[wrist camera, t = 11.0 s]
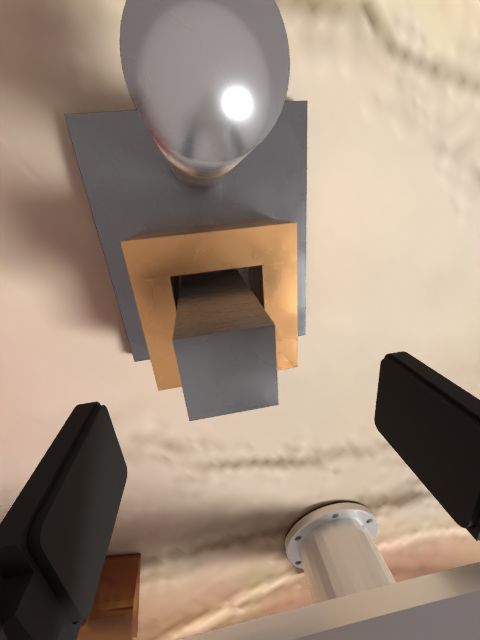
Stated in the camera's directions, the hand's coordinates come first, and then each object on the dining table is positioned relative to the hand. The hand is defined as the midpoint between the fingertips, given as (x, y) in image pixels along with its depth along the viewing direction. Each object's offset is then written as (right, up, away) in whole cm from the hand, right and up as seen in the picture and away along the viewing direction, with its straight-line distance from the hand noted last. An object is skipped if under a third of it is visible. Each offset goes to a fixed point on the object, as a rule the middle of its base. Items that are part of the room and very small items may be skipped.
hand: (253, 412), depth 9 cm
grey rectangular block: (-3, +5, +11) cm, 12 cm away
